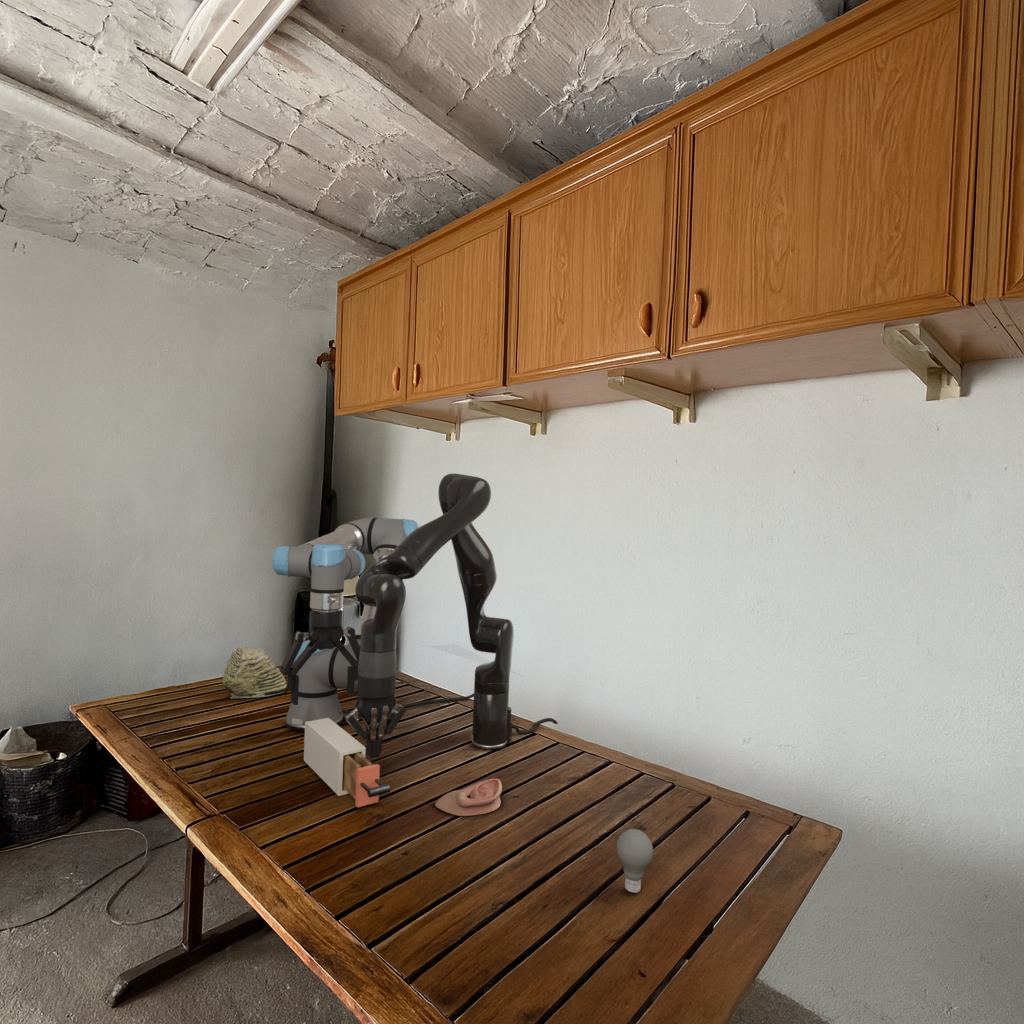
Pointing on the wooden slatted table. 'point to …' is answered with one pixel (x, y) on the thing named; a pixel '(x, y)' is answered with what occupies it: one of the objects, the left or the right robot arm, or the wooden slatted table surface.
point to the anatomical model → (472, 799)
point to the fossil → (252, 674)
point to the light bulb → (634, 857)
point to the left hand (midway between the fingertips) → (323, 698)
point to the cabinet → (329, 751)
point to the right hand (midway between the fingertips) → (373, 756)
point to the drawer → (362, 779)
